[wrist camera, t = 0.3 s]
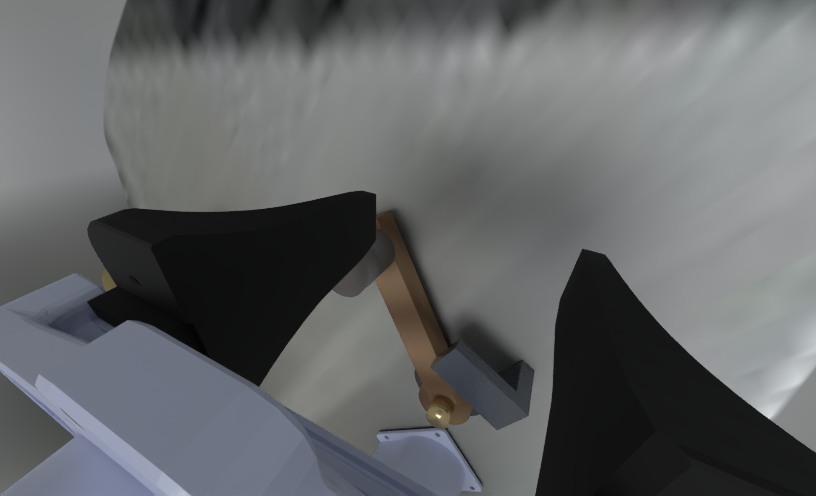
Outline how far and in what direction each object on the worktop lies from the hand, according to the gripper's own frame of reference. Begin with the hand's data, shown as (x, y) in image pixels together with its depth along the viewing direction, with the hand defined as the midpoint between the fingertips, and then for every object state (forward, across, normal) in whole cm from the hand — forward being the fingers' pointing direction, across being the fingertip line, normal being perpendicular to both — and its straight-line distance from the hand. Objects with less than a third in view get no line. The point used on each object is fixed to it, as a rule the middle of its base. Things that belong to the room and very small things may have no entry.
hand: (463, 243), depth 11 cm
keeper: (+9, -2, +15) cm, 17 cm away
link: (+8, +4, +13) cm, 16 cm away
